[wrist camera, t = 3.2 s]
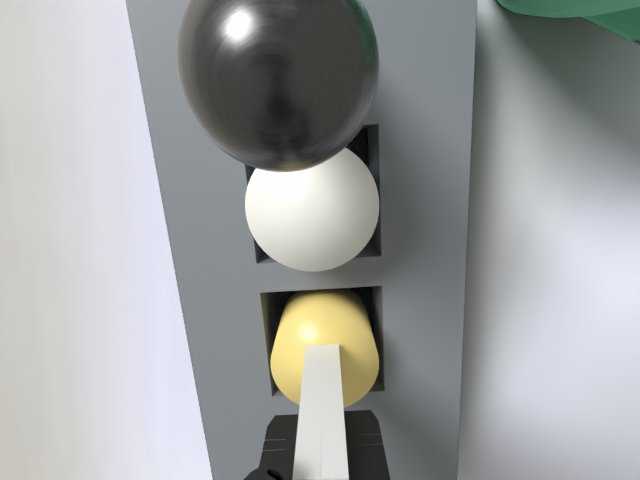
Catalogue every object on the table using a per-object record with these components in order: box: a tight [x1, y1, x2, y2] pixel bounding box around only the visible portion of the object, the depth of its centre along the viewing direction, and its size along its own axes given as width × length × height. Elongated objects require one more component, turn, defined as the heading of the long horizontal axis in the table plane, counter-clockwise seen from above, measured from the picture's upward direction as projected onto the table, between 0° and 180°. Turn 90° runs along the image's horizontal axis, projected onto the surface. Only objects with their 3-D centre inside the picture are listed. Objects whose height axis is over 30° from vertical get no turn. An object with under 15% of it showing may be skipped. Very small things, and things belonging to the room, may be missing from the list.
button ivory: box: [245, 148, 379, 272], centre depth 15 cm, size 5×5×4 cm
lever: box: [176, 0, 379, 172], centre depth 9 cm, size 3×3×11 cm
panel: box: [126, 0, 477, 480], centre depth 19 cm, size 28×14×4 cm, turn 4°
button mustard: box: [270, 288, 379, 408], centre depth 18 cm, size 5×5×4 cm
